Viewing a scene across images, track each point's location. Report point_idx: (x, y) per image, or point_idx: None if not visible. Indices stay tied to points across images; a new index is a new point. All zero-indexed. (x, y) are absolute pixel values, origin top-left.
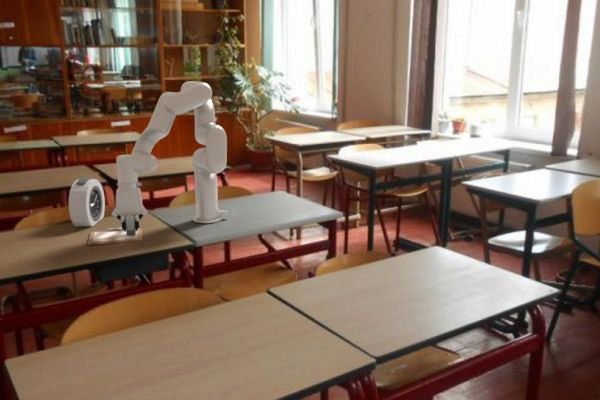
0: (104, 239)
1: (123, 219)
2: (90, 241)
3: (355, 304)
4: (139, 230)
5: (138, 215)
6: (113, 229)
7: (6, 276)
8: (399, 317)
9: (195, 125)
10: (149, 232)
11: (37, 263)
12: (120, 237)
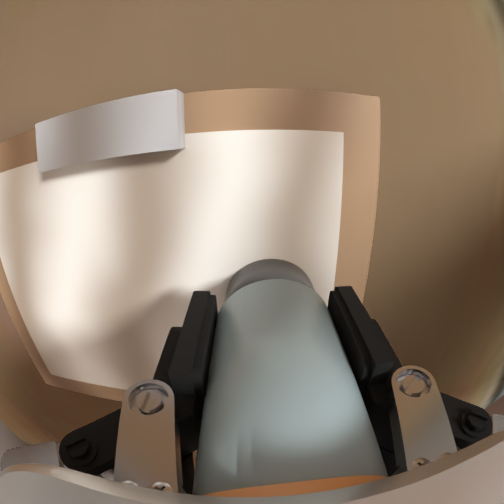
0: (91, 365)
1: (189, 468)
2: (39, 362)
3: None
4: (358, 175)
5: (434, 430)
6: (75, 163)
7: (21, 439)
8: None
9: None
10: (428, 235)
11: (19, 420)
12: None
